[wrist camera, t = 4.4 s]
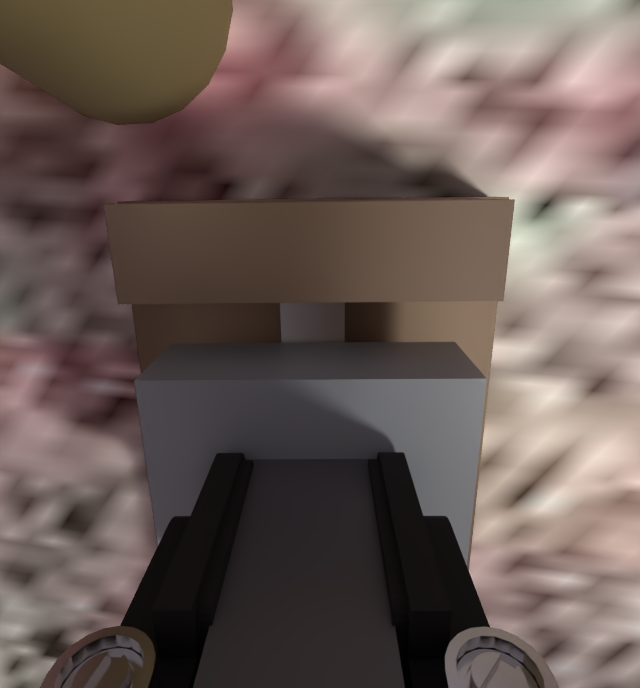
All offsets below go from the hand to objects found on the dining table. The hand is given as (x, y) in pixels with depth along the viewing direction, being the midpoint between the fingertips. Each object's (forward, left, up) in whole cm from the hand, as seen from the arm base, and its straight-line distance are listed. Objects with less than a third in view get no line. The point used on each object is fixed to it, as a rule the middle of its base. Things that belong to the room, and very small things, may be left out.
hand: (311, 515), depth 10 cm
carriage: (0, 0, -4) cm, 4 cm away
